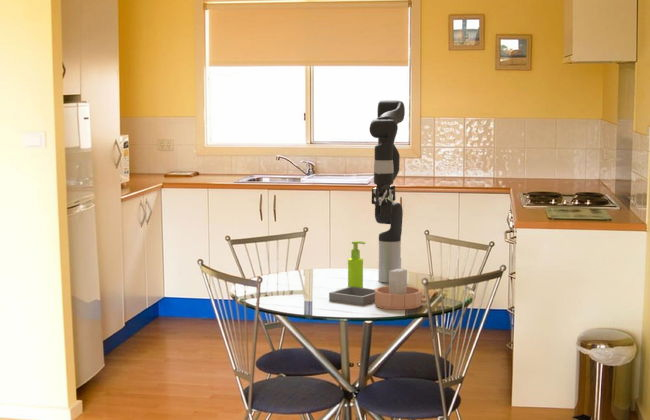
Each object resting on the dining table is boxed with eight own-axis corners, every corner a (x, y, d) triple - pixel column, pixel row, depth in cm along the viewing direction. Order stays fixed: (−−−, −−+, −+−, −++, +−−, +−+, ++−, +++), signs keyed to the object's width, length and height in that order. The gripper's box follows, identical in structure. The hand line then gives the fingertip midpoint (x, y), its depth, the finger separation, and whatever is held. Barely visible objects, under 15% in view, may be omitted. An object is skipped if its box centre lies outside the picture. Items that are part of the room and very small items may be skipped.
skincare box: (397, 300, 350) (397, 268, 349) (407, 301, 348) (407, 269, 346) (387, 302, 346) (388, 270, 344) (398, 304, 343) (398, 271, 342)
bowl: (389, 298, 359) (389, 284, 358) (429, 303, 349) (429, 288, 349) (366, 306, 345) (366, 291, 344) (406, 311, 335) (407, 296, 335)
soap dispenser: (364, 293, 369) (364, 242, 366) (346, 292, 370) (346, 242, 368) (366, 290, 374) (366, 240, 372) (349, 289, 376) (349, 240, 373)
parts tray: (350, 293, 367) (350, 286, 367) (383, 298, 359) (383, 290, 359) (329, 300, 355) (329, 292, 355) (363, 305, 347) (363, 297, 346)
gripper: (384, 170, 368) (384, 211, 370) (365, 172, 356) (365, 215, 358) (401, 170, 364) (401, 212, 366) (382, 173, 352) (382, 216, 354)
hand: (383, 213), depth 362 cm, fingers open, 8 cm apart
